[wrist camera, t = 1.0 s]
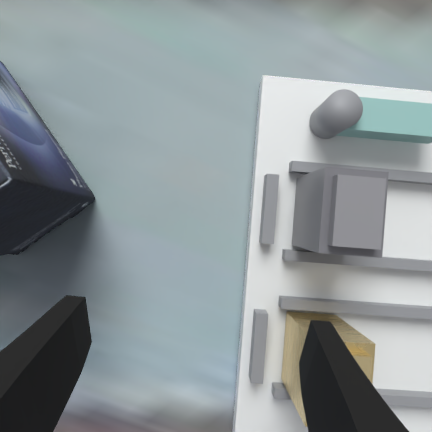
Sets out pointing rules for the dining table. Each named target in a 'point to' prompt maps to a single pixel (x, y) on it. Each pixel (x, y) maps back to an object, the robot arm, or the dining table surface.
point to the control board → (334, 259)
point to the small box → (32, 173)
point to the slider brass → (295, 341)
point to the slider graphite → (341, 211)
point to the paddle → (372, 118)
